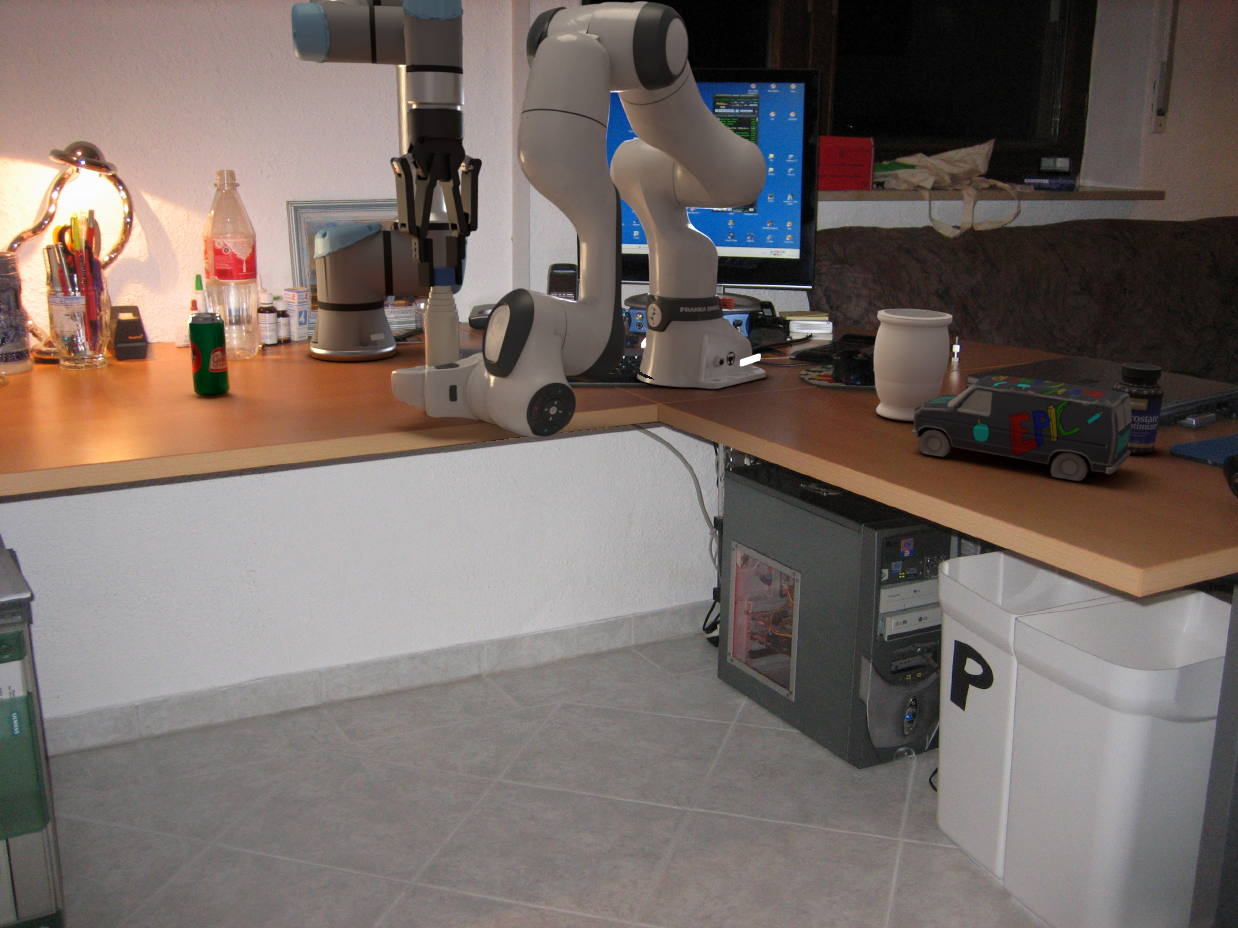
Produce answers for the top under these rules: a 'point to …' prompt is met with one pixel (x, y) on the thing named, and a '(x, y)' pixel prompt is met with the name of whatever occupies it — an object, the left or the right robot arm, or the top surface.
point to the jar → (909, 359)
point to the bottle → (441, 327)
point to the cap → (444, 275)
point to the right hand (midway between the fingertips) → (439, 369)
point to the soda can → (208, 354)
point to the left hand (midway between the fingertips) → (440, 284)
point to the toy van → (1031, 424)
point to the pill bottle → (1142, 403)
